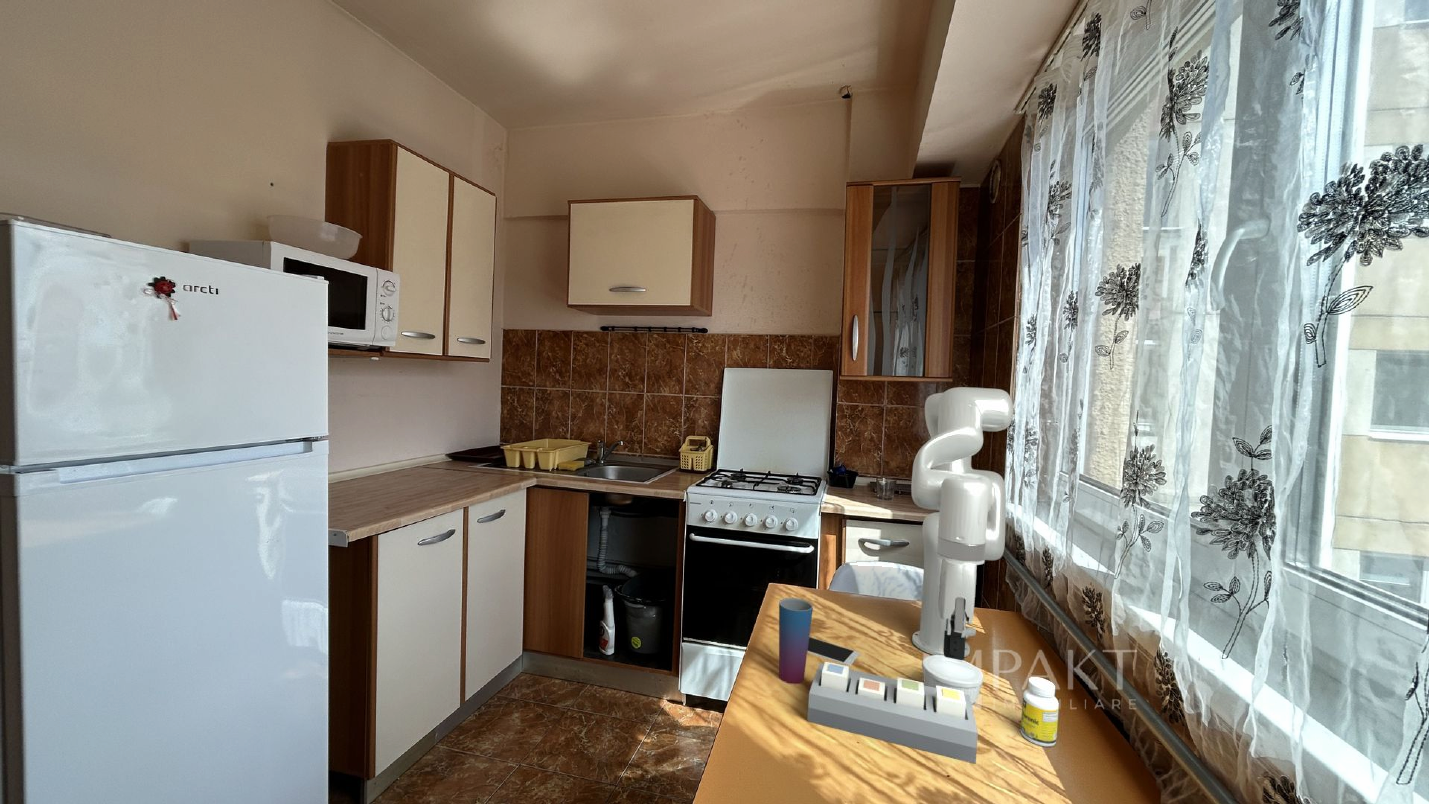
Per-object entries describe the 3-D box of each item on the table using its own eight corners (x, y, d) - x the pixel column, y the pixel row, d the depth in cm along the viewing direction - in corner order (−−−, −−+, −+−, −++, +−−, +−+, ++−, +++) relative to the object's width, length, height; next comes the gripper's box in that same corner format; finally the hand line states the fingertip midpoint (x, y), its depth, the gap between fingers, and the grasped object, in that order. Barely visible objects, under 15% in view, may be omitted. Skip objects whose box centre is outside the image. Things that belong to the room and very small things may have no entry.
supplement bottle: (1013, 728, 99) (1017, 674, 99) (1042, 728, 99) (1046, 674, 99) (1033, 748, 93) (1037, 690, 93) (1063, 748, 94) (1067, 691, 94)
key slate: (820, 688, 100) (822, 671, 100) (824, 677, 104) (825, 660, 104) (845, 694, 99) (846, 676, 99) (848, 682, 103) (849, 665, 103)
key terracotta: (857, 705, 98) (858, 688, 98) (859, 693, 102) (860, 676, 102) (883, 711, 97) (884, 693, 97) (883, 699, 101) (885, 681, 101)
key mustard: (936, 715, 94) (937, 696, 94) (935, 702, 98) (936, 684, 98) (964, 721, 92) (965, 703, 92) (962, 708, 97) (963, 690, 96)
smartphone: (849, 665, 118) (786, 644, 126) (849, 668, 118) (786, 647, 126) (861, 652, 124) (799, 633, 133) (860, 655, 124) (799, 635, 133)
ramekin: (978, 687, 113) (979, 661, 113) (985, 716, 102) (987, 688, 102) (919, 674, 117) (921, 650, 116) (921, 701, 106) (923, 674, 106)
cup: (807, 688, 108) (812, 612, 108) (773, 683, 109) (777, 608, 109) (808, 671, 115) (813, 600, 114) (776, 666, 116) (780, 596, 116)
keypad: (807, 721, 97) (809, 693, 97) (817, 688, 109) (819, 662, 108) (975, 763, 88) (977, 732, 88) (967, 722, 100) (969, 695, 100)
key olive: (896, 706, 96) (897, 687, 96) (896, 693, 100) (897, 676, 100) (923, 712, 94) (924, 693, 94) (922, 699, 99) (923, 681, 99)
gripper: (934, 537, 103) (928, 635, 103) (939, 557, 89) (931, 671, 89) (979, 543, 100) (972, 644, 100) (991, 564, 86) (983, 681, 86)
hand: (953, 656), depth 95 cm, fingers closed
